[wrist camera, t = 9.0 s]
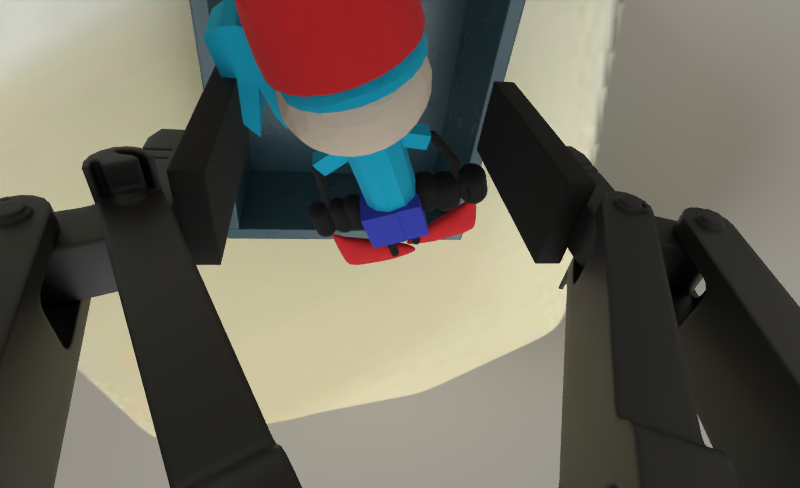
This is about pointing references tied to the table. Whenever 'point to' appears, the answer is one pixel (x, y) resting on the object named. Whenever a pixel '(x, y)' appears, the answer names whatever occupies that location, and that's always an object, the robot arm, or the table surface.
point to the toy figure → (350, 112)
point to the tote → (445, 114)
